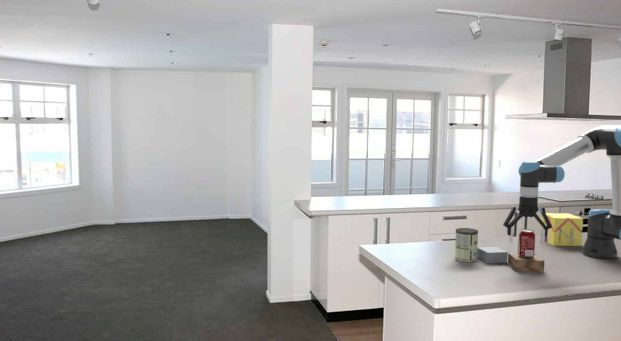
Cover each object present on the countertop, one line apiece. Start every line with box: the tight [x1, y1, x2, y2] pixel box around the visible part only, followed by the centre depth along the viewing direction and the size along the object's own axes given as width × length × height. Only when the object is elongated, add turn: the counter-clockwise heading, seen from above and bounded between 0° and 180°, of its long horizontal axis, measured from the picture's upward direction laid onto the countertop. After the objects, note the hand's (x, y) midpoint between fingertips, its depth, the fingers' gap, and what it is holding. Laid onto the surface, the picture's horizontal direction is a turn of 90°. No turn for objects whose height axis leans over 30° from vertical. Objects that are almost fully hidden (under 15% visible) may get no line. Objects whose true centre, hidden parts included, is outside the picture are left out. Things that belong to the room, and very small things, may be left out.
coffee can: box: [454, 227, 479, 263], centre depth 235 cm, size 10×10×14 cm
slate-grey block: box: [477, 246, 509, 264], centre depth 234 cm, size 10×10×5 cm
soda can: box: [517, 228, 536, 258], centre depth 221 cm, size 7×7×12 cm
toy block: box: [540, 212, 584, 247], centre depth 271 cm, size 15×15×15 cm
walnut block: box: [507, 252, 545, 273], centre depth 221 cm, size 12×12×5 cm
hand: (526, 243), depth 221 cm, fingers open, 13 cm apart
